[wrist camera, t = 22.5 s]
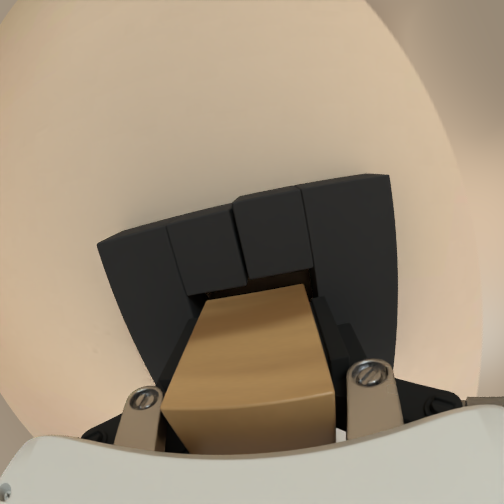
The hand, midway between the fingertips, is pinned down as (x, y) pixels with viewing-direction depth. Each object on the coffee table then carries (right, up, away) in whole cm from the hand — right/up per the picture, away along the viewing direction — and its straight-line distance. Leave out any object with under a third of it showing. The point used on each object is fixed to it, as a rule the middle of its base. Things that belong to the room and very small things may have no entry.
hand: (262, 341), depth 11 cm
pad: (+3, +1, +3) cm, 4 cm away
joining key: (0, 0, +1) cm, 1 cm away
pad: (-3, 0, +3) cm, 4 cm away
